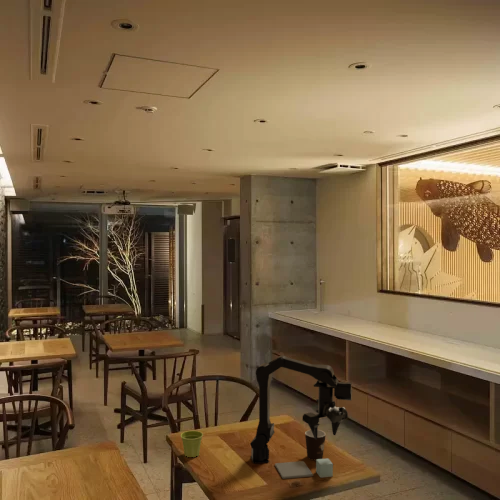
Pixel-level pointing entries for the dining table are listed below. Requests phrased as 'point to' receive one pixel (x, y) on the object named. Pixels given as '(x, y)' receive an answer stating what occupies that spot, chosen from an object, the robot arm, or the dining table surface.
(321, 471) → the cube
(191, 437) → the plant pot
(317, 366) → the robot arm
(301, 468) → the coaster
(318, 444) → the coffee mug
